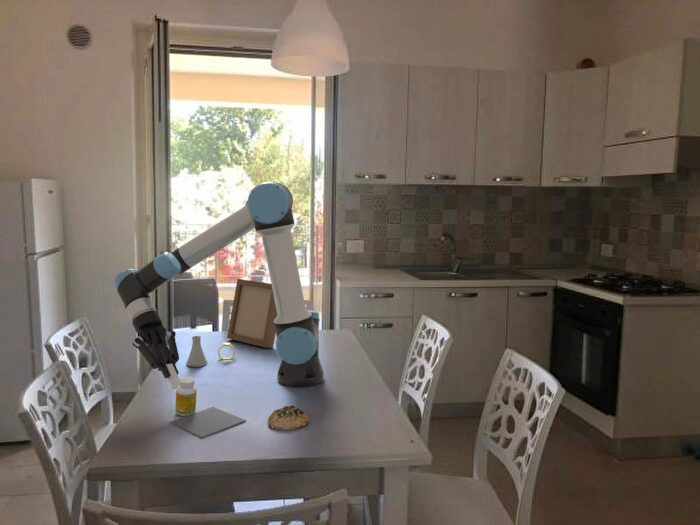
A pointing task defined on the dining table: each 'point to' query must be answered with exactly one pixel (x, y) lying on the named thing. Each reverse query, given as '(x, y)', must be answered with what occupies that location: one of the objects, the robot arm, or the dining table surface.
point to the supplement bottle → (186, 396)
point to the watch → (226, 345)
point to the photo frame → (253, 314)
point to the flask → (196, 354)
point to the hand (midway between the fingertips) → (177, 386)
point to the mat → (207, 422)
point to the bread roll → (288, 418)
